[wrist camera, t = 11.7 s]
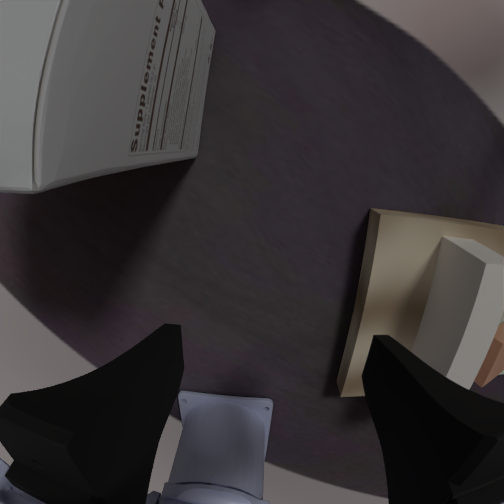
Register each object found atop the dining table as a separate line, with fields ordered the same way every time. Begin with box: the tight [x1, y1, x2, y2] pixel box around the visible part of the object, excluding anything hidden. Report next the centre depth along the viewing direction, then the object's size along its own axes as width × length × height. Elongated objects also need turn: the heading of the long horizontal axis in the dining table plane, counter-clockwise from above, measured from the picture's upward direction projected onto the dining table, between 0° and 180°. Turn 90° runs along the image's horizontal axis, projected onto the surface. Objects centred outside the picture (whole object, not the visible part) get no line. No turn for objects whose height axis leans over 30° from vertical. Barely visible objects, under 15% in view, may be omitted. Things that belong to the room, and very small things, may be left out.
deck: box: [336, 208, 504, 397], centre depth 20 cm, size 14×12×2 cm
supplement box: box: [0, 0, 215, 194], centre depth 10 cm, size 9×9×15 cm
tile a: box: [474, 323, 504, 387], centre depth 20 cm, size 4×4×2 cm
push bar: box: [411, 236, 504, 390], centre depth 17 cm, size 12×3×5 cm, turn 177°
